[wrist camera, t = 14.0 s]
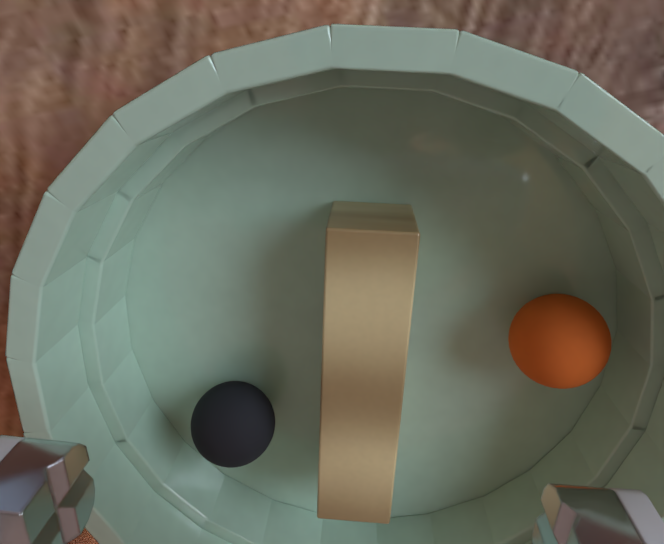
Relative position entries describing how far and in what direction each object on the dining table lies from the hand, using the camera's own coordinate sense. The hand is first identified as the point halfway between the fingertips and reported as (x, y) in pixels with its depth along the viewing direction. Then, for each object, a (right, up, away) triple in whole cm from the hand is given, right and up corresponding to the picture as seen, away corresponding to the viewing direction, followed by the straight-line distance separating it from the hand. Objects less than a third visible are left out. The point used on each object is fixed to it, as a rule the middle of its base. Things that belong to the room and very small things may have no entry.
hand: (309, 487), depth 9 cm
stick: (+1, +1, +8) cm, 8 cm away
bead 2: (+6, +1, +6) cm, 9 cm away
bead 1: (-2, -1, +8) cm, 8 cm away
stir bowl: (+2, +2, +9) cm, 9 cm away
